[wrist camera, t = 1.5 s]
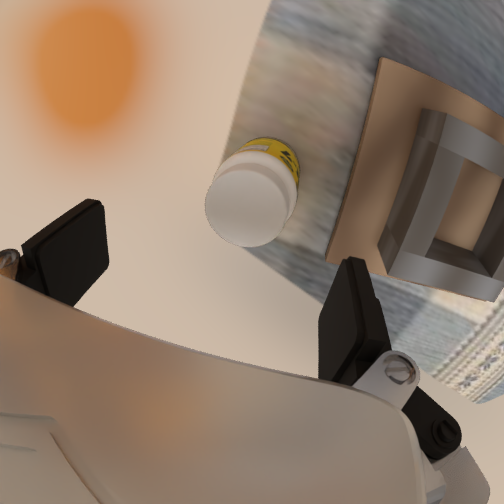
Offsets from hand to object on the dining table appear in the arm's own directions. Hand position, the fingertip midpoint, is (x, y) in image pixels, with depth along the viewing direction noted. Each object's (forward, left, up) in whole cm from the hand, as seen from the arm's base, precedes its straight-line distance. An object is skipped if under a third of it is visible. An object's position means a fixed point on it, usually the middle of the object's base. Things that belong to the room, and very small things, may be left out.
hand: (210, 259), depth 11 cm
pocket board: (-15, -2, -12) cm, 20 cm away
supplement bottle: (0, 0, -12) cm, 12 cm away
